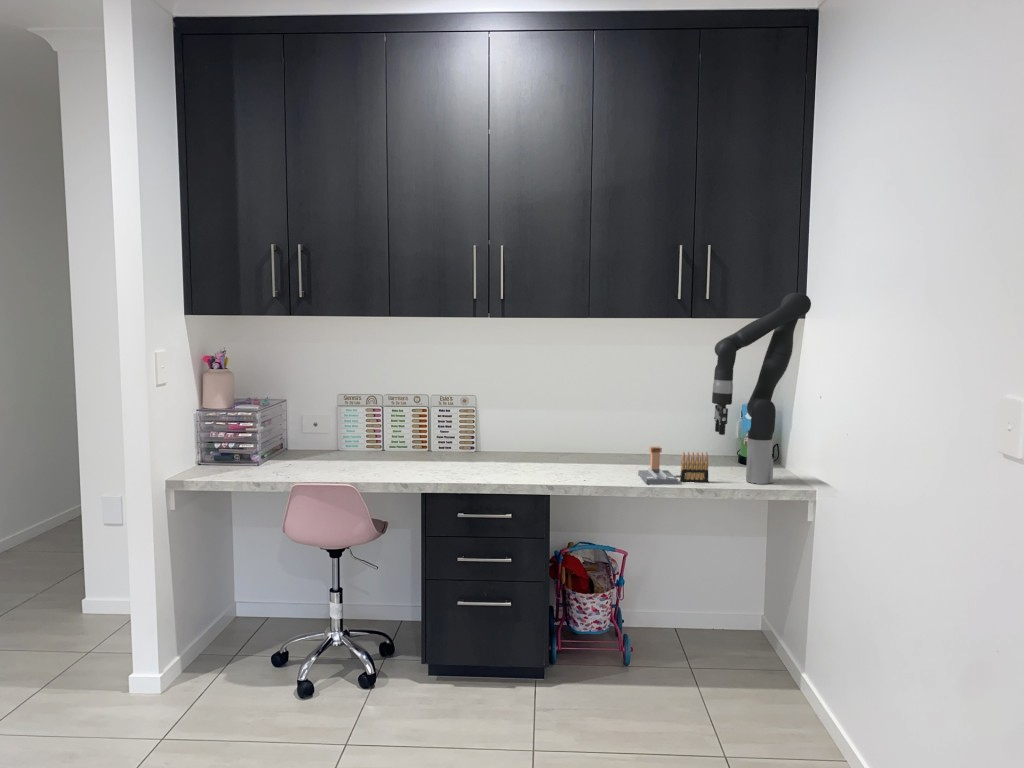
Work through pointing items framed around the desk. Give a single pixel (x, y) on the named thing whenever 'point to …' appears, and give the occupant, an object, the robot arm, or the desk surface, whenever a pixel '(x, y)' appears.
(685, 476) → the ammunition clip
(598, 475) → the desk surface
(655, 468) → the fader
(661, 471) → the fader console
